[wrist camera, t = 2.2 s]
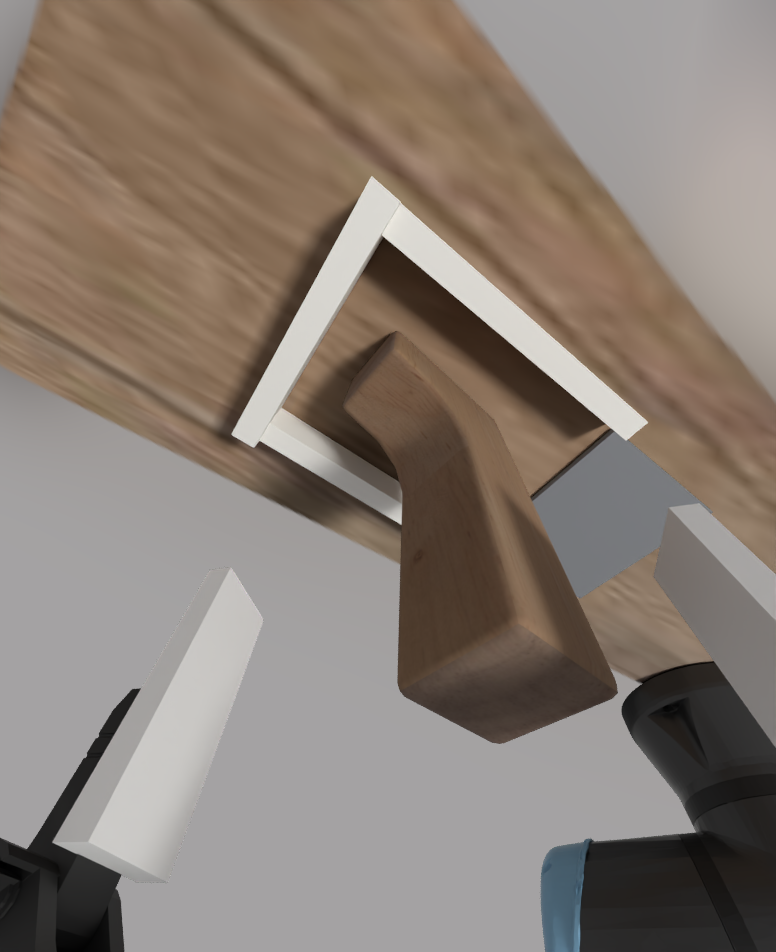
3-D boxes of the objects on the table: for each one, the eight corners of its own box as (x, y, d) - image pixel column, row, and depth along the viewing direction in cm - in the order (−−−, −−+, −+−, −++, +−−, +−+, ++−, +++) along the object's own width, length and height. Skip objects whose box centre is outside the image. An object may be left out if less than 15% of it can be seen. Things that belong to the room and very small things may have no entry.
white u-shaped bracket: (627, 406, 24) (657, 429, 21) (468, 544, 31) (474, 577, 28) (377, 185, 19) (371, 175, 16) (251, 411, 26) (231, 434, 23)
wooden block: (349, 382, 24) (250, 624, 9) (396, 326, 22) (369, 516, 7) (448, 464, 27) (497, 752, 12) (497, 421, 25) (630, 699, 10)
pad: (709, 508, 28) (712, 512, 28) (578, 594, 34) (580, 598, 33) (613, 427, 25) (615, 430, 25) (486, 536, 31) (487, 540, 30)
